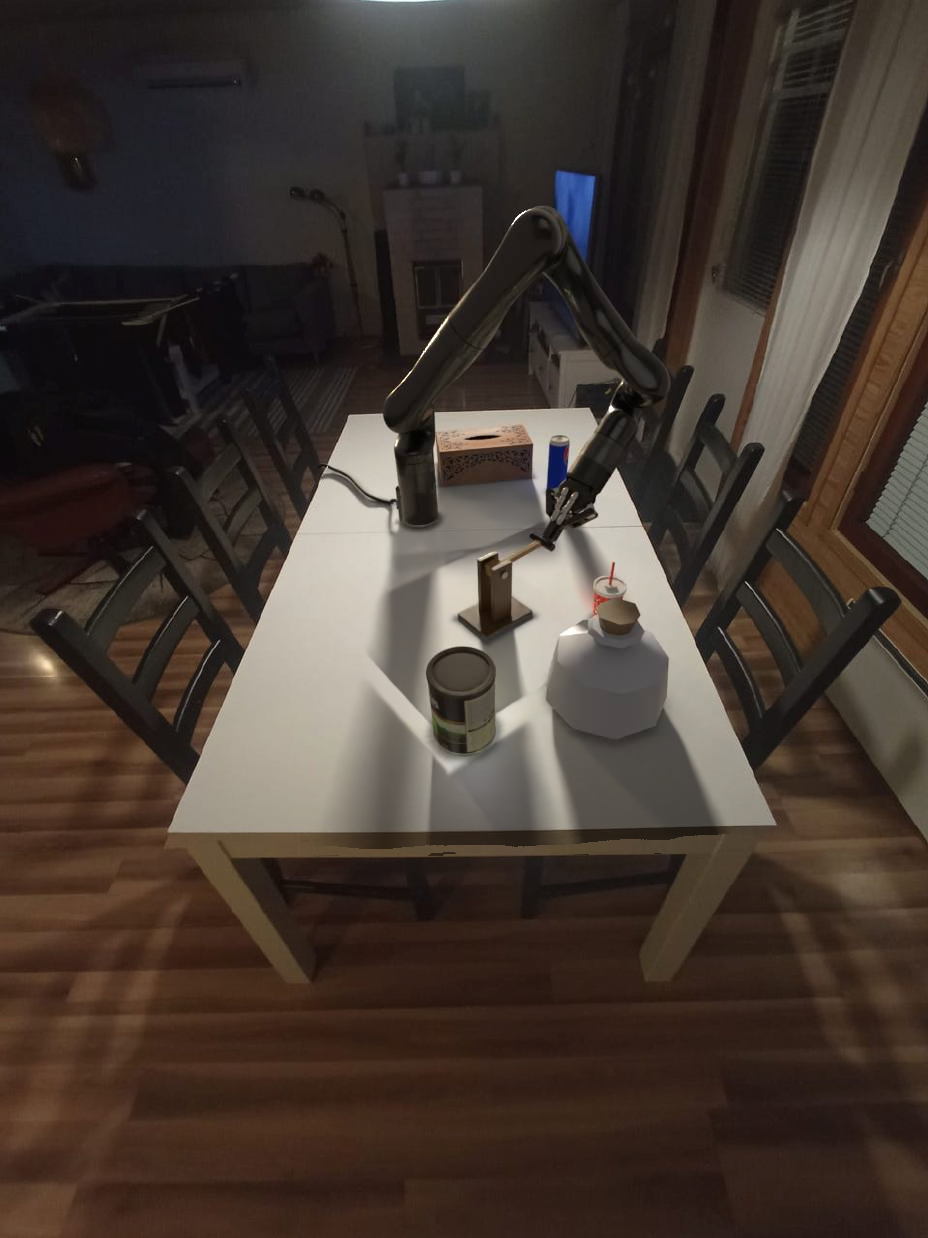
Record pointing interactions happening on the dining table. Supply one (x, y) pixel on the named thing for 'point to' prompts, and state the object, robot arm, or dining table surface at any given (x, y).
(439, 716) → the coffee can
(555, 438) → the beverage can
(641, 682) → the bottle
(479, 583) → the lever base
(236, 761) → the dining table surface
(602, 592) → the beverage cup
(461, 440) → the tissue box cover
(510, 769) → the dining table surface
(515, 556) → the wooden lever handle
